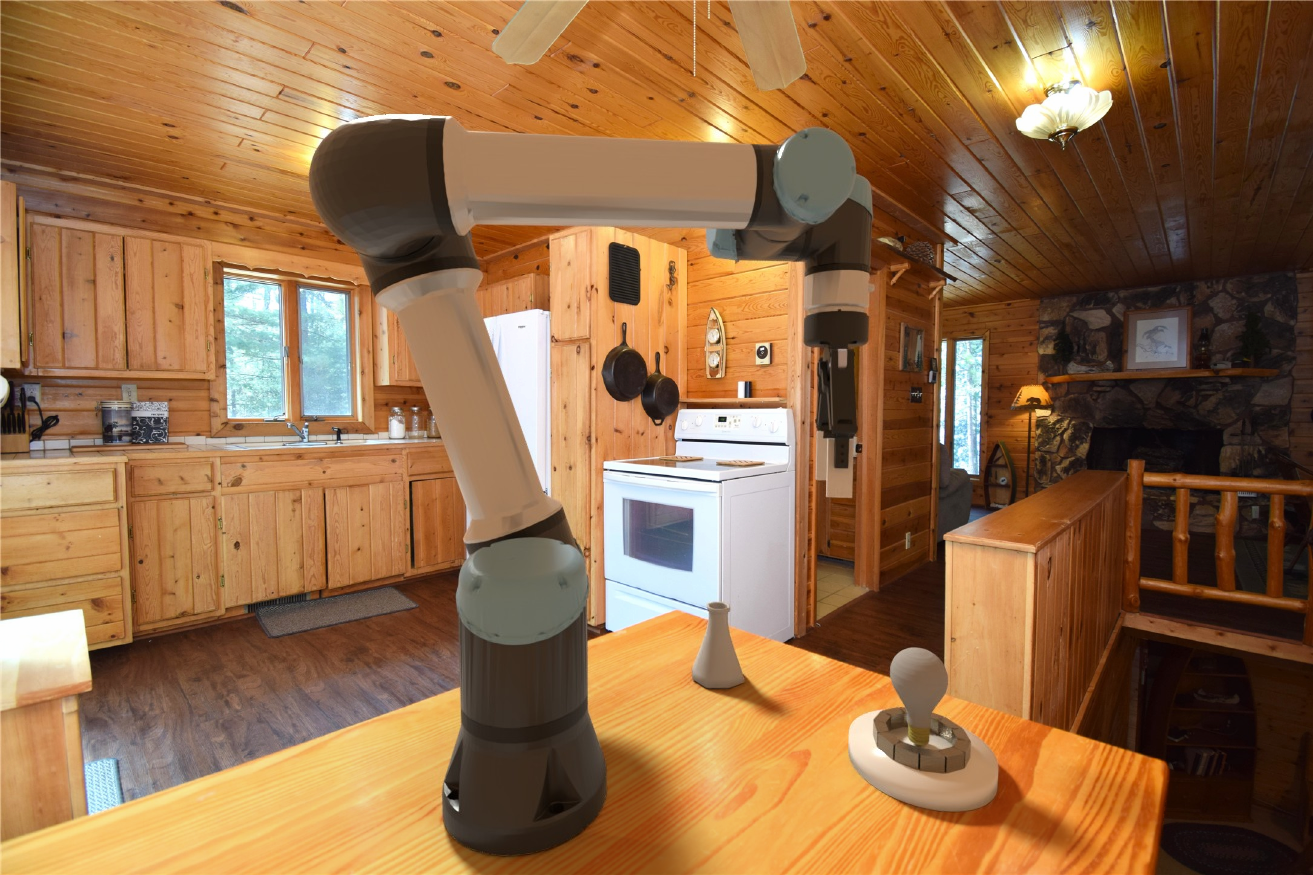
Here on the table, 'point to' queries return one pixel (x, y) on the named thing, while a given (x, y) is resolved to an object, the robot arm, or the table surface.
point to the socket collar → (921, 757)
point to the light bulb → (919, 688)
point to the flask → (717, 652)
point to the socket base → (918, 786)
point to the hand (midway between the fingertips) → (832, 488)
